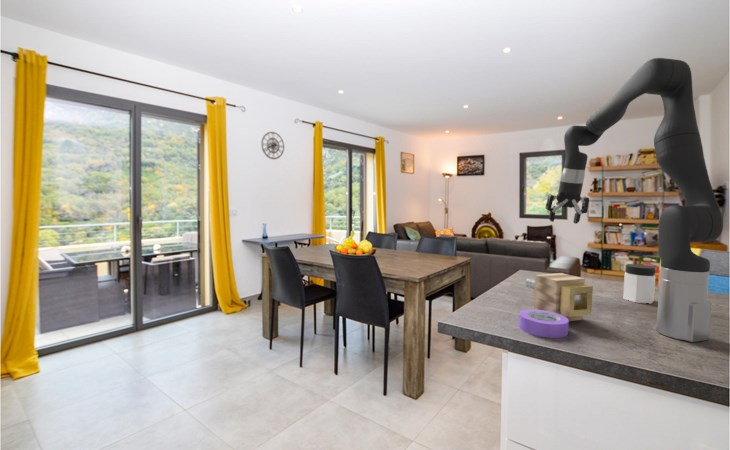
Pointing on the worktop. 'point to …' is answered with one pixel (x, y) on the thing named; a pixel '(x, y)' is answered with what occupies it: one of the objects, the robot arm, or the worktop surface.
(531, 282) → the shaft
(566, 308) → the block
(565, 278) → the tan wooden block
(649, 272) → the jar
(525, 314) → the masking tape
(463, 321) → the worktop surface
